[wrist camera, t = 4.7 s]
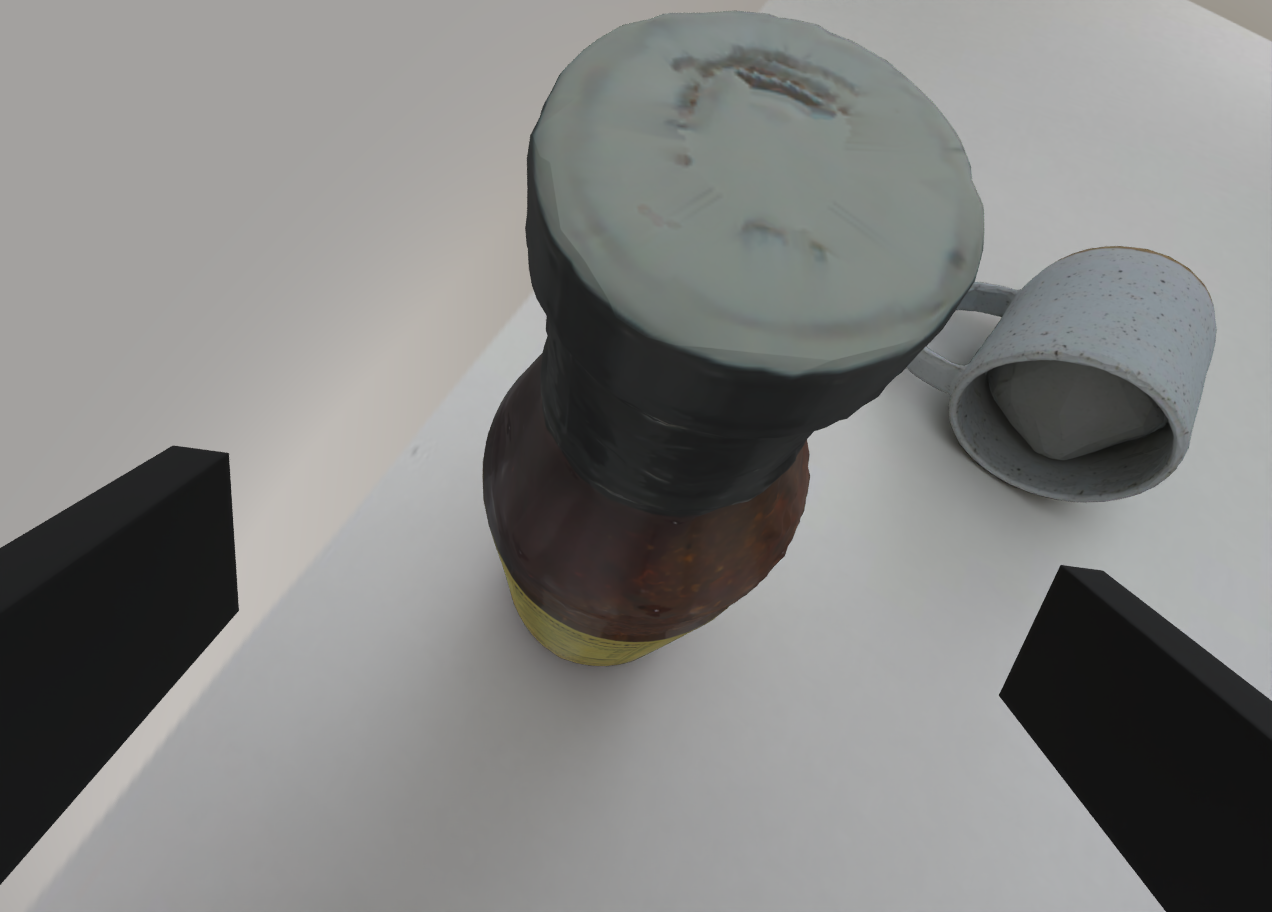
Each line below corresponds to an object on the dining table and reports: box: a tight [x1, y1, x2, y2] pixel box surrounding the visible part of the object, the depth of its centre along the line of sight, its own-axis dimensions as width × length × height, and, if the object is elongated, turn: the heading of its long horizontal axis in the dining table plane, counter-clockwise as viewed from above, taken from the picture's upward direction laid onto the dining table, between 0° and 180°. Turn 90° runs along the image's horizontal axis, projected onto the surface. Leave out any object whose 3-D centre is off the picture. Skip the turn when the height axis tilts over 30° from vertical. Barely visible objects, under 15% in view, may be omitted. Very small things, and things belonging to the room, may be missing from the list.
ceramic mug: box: [907, 246, 1217, 502], centre depth 26 cm, size 11×8×8 cm
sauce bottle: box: [483, 11, 984, 666], centre depth 15 cm, size 6×6×20 cm
